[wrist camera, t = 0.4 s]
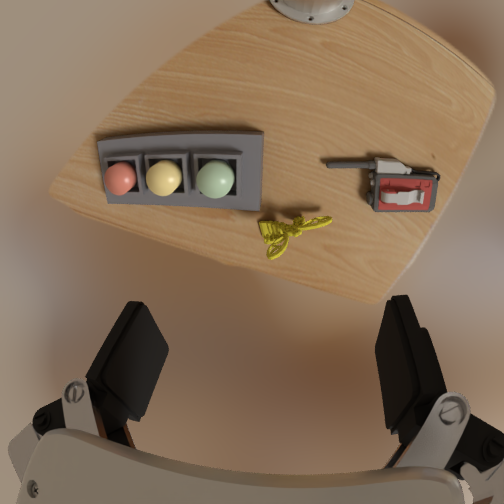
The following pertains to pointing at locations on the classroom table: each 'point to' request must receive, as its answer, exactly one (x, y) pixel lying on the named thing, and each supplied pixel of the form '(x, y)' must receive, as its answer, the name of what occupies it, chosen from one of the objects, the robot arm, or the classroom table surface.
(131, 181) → the red button
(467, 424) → the robot arm
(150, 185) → the mustard button
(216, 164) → the sage button
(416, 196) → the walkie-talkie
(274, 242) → the decorative insect
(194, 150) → the button panel
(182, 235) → the classroom table surface
